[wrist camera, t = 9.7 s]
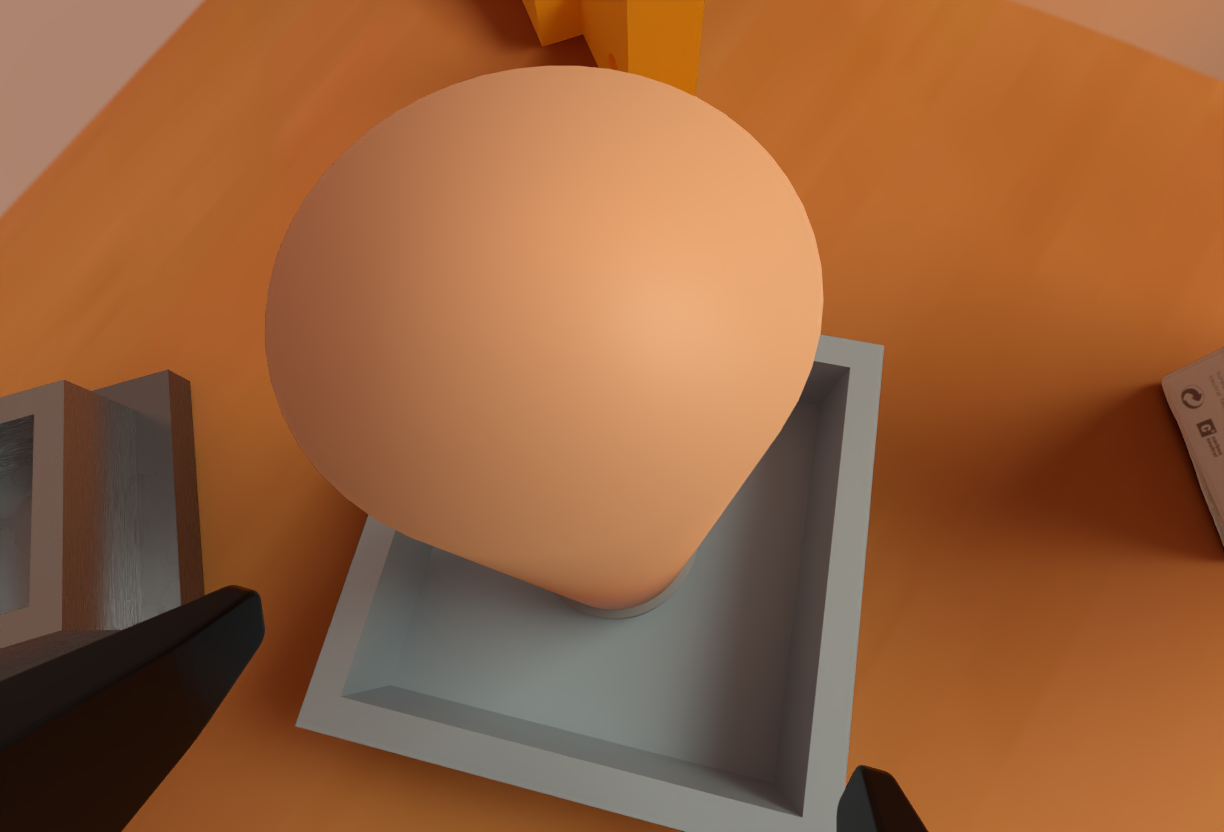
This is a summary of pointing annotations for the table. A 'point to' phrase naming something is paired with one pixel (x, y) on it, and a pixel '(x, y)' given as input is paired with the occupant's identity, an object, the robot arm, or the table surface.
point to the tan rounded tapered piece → (548, 326)
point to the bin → (639, 648)
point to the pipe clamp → (629, 34)
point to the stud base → (94, 513)
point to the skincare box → (1202, 424)
